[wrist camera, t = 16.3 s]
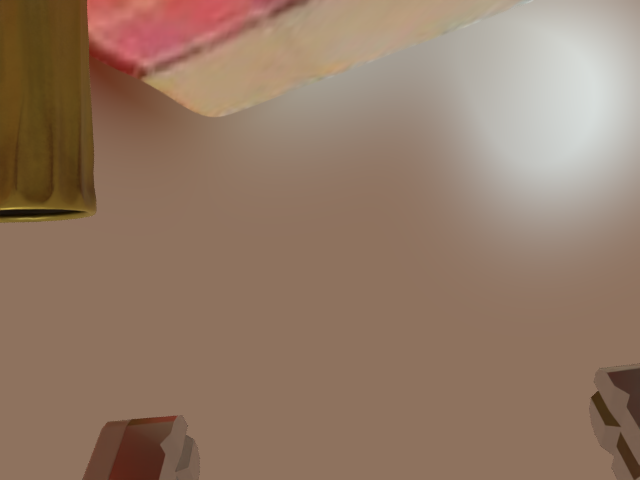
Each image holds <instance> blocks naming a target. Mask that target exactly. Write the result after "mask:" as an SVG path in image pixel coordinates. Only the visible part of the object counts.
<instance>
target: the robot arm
mask: <svg viewBox="0 0 640 480" xmlns="http://www.w3.org/2000/svg"><path fill="white" fill-rule="evenodd" d="M594 383H595V385H596V387H597V389H598V391H597V392H596V393H595V394H594V395H593V396H592V397H591V401H590V408H589V409H590V417H591V424H592V427H593V430H594V433H595V435H596V437H597V439H598V442H599V444H600V446H601V447H602V448H604V449H605V450H607V451H608V452H609V453H611V454H612V455H613V456H614V459H613V463H612V470H613V472H614V474H615V476H616V478H617V480H640V363H639V364H632V365H623V366H616V367H607V368H600V369H599V370H598V371H597V372H596V374H595V379H594ZM187 427H188V425H187V423H186V421H185V420H184V417H183V416H182V415H180V416H168V417H155V418H143V419H131V420H122V421H111V422H107V423H106V425H105V426H104V427H103V428H102V430H101V432H100V435H99V437H98V440H97V443H96V445H95V448H94V451H93V453H92V456H91V459H90V461H89V463H88V466H87V469H86V471H85V474H84V477H83V479H82V480H198V479H199V473H200V466H199V465H200V460H199V459H200V457H199V453H198V447H197V445H196V443H195V440H194V439H193V438H191V437H189V436H187V435H186V431H187Z"/></svg>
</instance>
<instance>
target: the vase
mask: <svg viewBox="0 0 640 480" xmlns="http://www.w3.org/2000/svg"><path fill="white" fill-rule="evenodd" d="M93 168H94V143H93V126H92V108H91V90H90V75H89V37H88V19H87V0H0V223H5V222H41V221H56V220H68V219H77V218H83V217H89V216H93V215H94V214H95V213H96V196H95V189H94V176H93Z"/></svg>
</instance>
